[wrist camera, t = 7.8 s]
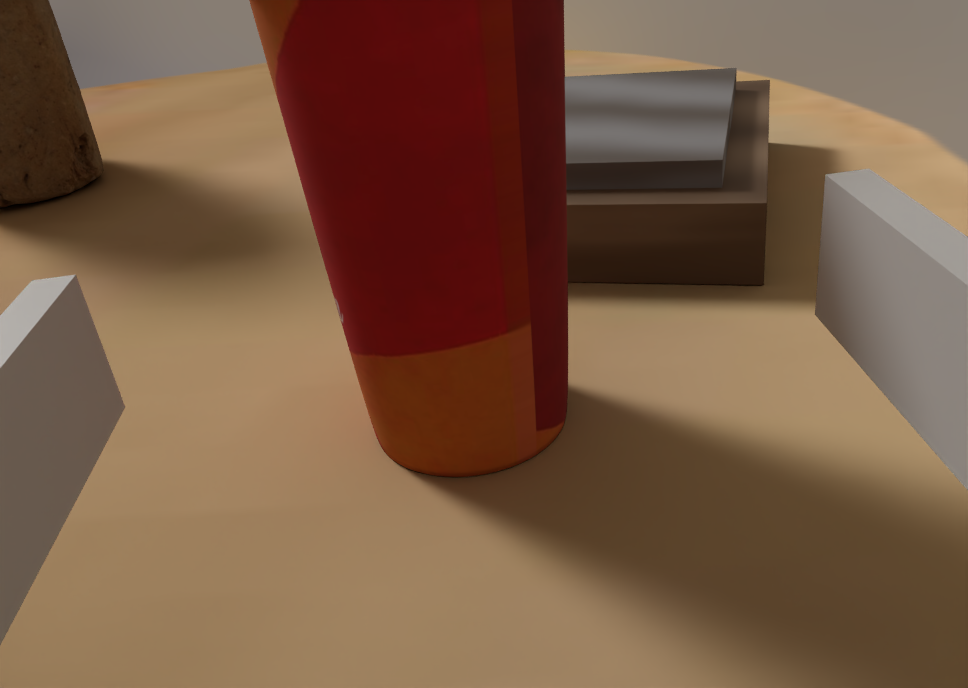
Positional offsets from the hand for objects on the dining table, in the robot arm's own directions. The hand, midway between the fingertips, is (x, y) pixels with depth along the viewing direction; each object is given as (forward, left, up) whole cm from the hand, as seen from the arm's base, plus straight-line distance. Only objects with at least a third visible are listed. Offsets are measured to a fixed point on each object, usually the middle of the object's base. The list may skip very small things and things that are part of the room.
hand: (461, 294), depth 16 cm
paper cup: (+7, +3, -8) cm, 10 cm away
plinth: (+24, +3, -7) cm, 25 cm away
